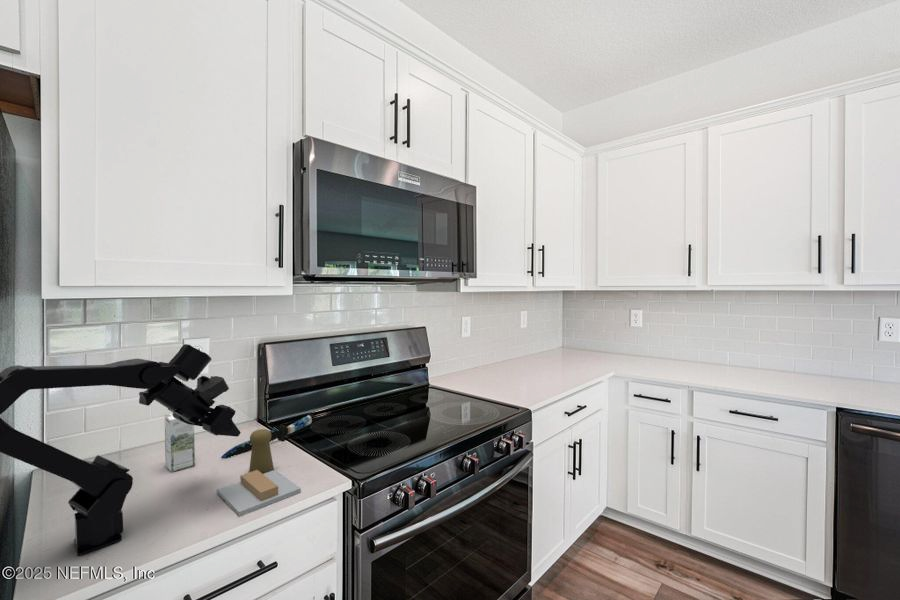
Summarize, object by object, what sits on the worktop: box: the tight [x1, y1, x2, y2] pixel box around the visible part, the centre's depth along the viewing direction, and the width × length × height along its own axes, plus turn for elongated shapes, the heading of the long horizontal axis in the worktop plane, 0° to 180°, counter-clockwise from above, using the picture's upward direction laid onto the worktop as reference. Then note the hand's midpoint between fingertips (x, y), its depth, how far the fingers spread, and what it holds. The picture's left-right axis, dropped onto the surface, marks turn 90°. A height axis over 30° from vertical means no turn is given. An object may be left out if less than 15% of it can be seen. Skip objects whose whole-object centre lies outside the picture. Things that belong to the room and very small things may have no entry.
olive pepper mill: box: [248, 428, 275, 474], centre depth 109 cm, size 6×6×11 cm
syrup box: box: [164, 413, 196, 473], centre depth 111 cm, size 6×6×14 cm
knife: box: [220, 413, 315, 460], centre depth 128 cm, size 31×3×4 cm, turn 140°
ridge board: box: [216, 469, 302, 517], centre depth 98 cm, size 14×14×3 cm
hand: (228, 430), depth 101 cm, fingers open, 9 cm apart
